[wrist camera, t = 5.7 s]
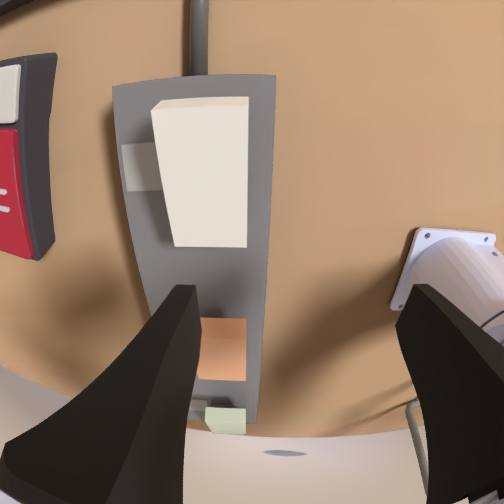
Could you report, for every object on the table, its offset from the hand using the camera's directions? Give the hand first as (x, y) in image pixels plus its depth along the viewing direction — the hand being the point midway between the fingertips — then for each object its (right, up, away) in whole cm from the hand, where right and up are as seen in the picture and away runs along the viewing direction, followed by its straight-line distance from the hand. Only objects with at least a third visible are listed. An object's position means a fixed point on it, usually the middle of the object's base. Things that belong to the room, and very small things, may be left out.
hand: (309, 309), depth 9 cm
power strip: (-5, +2, +11) cm, 12 cm away
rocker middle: (-4, -5, +10) cm, 12 cm away
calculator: (-21, +10, +7) cm, 25 cm away
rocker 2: (-4, -15, +17) cm, 23 cm away
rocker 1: (-4, +5, +4) cm, 7 cm away
